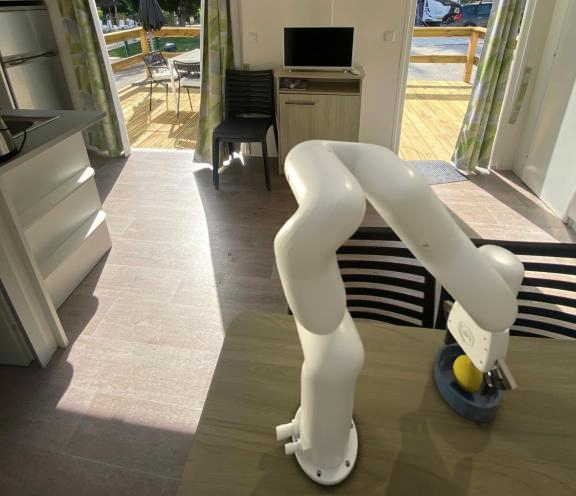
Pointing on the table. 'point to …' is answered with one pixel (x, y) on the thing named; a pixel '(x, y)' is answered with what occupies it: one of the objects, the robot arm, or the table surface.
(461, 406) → the bowl
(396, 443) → the table surface
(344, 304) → the robot arm
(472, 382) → the lemon
